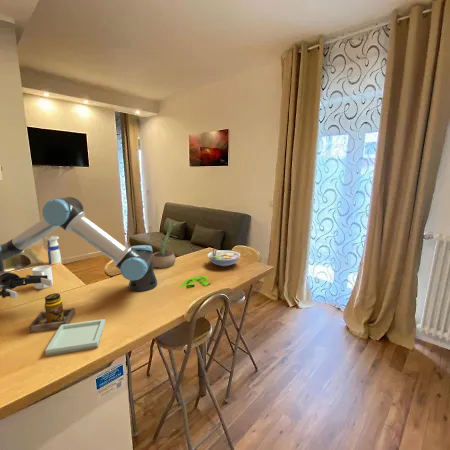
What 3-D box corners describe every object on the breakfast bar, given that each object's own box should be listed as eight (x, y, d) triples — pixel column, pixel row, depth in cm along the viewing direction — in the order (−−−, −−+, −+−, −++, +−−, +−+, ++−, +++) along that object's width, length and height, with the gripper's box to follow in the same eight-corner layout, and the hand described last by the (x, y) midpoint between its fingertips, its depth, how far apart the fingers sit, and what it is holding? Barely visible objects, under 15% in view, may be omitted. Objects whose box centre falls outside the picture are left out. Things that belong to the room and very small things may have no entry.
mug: (34, 293, 135) (31, 273, 133) (34, 285, 145) (32, 267, 143) (53, 289, 140) (51, 270, 138) (52, 282, 150) (50, 264, 148)
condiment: (61, 326, 105) (58, 298, 103) (38, 328, 103) (34, 300, 101) (68, 316, 112) (65, 291, 110) (46, 319, 110) (42, 293, 108)
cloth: (208, 275, 161) (208, 272, 160) (218, 289, 140) (218, 285, 140) (175, 280, 154) (175, 276, 154) (181, 295, 134) (181, 291, 134)
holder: (75, 313, 115) (74, 307, 115) (66, 327, 104) (66, 322, 103) (41, 317, 112) (40, 311, 111) (29, 333, 100) (28, 327, 100)
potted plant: (160, 271, 167) (158, 225, 162) (146, 265, 179) (143, 222, 174) (187, 262, 184) (186, 221, 178) (172, 257, 196) (171, 218, 190)
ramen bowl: (241, 271, 167) (241, 259, 165) (206, 271, 167) (205, 259, 166) (239, 259, 191) (239, 248, 190) (208, 259, 192) (208, 248, 190)
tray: (105, 323, 106) (104, 318, 106) (97, 347, 91) (97, 342, 91) (61, 329, 102) (61, 324, 102) (46, 356, 87) (45, 350, 87)
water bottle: (44, 264, 181) (40, 229, 176) (56, 260, 189) (52, 227, 184) (52, 265, 178) (48, 230, 173) (64, 262, 185) (60, 228, 181)
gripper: (36, 278, 130) (63, 286, 121) (-28, 299, 107) (0, 310, 99) (34, 264, 128) (62, 271, 120) (-31, 282, 106) (-3, 292, 97)
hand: (34, 289), depth 109 cm, fingers open, 13 cm apart
